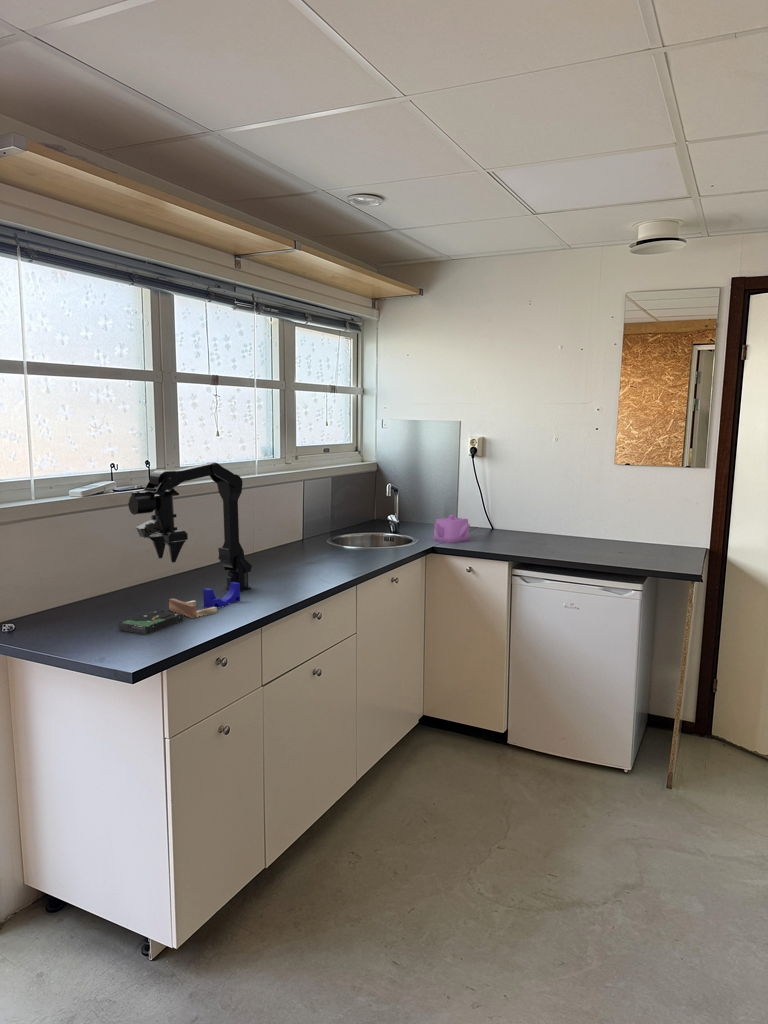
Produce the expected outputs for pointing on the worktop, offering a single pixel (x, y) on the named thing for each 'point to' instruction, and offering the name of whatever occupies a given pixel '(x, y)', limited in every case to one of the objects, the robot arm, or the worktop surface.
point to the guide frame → (189, 608)
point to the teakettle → (451, 529)
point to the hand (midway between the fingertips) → (166, 560)
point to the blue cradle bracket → (230, 597)
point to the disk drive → (150, 622)
